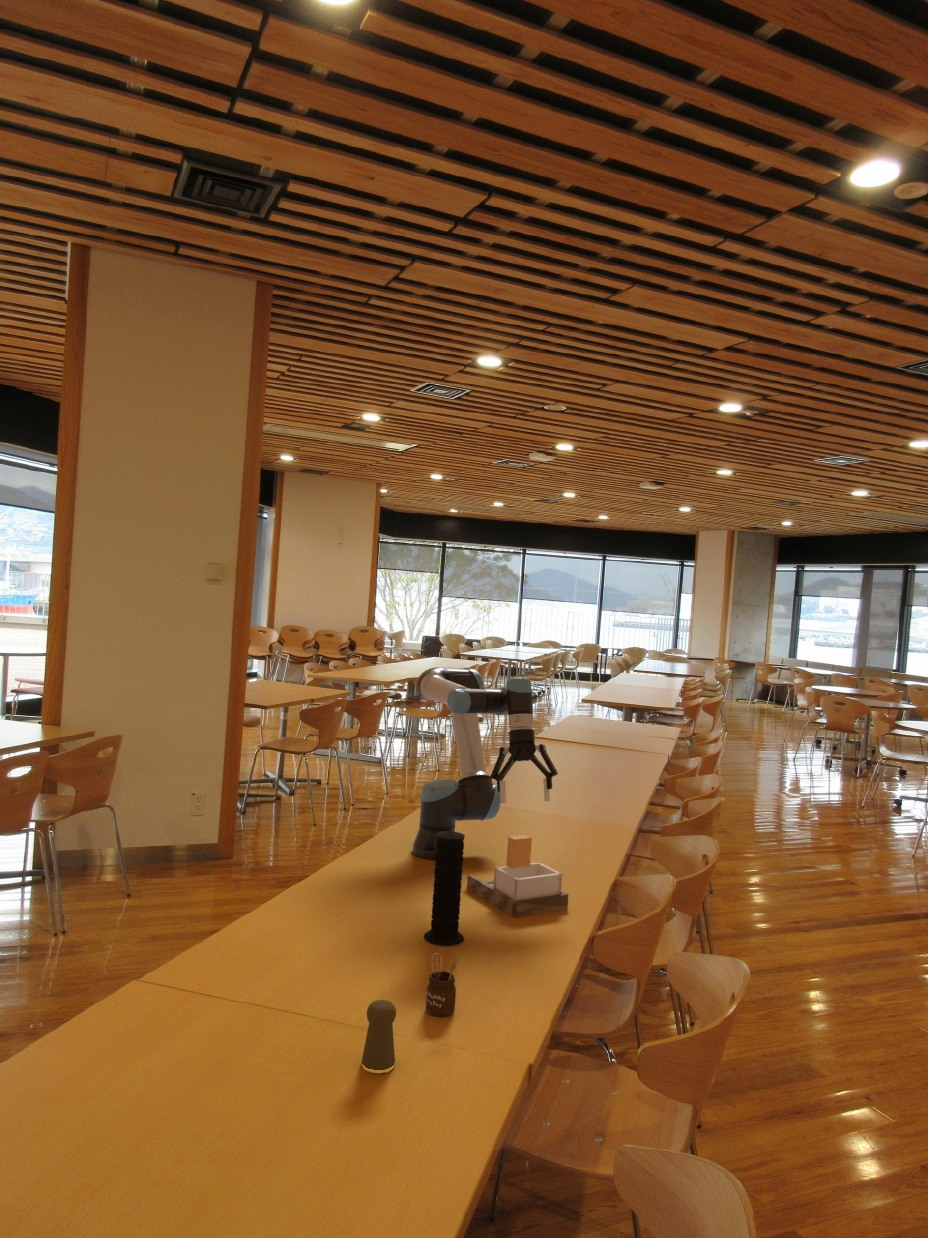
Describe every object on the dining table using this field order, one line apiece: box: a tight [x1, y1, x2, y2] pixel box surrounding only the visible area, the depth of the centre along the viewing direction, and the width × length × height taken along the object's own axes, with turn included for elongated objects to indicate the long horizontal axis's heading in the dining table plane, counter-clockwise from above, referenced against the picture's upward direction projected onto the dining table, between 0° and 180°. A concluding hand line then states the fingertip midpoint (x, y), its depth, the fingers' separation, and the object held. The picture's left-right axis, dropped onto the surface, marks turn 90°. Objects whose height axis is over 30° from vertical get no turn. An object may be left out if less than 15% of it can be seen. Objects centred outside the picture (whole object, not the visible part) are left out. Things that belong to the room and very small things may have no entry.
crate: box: [493, 834, 563, 901], centre depth 238 cm, size 12×15×16 cm
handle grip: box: [423, 831, 466, 947], centre depth 210 cm, size 10×26×10 cm
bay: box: [466, 873, 569, 918], centre depth 242 cm, size 24×18×4 cm
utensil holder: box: [425, 952, 460, 1018], centre depth 173 cm, size 6×6×12 cm
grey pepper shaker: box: [361, 999, 397, 1070], centre depth 152 cm, size 6×6×11 cm
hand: (525, 802), depth 252 cm, fingers open, 13 cm apart
